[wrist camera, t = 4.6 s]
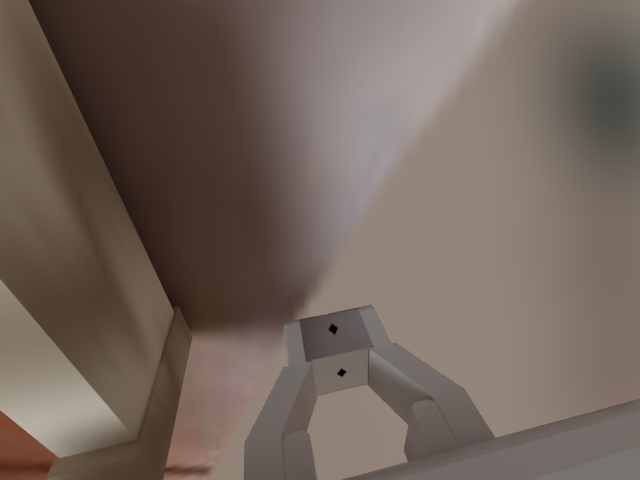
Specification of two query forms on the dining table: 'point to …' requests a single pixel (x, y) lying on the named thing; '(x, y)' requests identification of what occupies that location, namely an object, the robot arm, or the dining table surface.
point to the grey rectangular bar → (76, 284)
